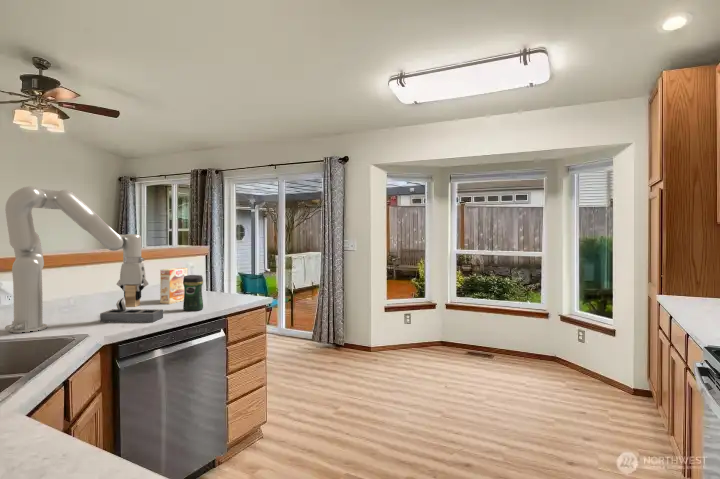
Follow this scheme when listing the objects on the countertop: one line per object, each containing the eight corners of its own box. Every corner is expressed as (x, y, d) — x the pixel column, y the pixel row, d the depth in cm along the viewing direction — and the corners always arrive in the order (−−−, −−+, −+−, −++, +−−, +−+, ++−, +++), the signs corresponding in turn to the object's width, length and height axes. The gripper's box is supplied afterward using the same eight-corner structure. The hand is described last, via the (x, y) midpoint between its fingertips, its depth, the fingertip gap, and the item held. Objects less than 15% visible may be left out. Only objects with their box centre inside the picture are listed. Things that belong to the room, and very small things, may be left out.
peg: (135, 307, 195) (134, 285, 195) (125, 307, 195) (125, 285, 194) (140, 305, 199) (139, 284, 199) (130, 305, 199) (130, 284, 199)
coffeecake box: (169, 304, 238) (169, 270, 237) (159, 303, 240) (159, 269, 240) (188, 300, 252) (188, 267, 252) (178, 299, 254) (178, 267, 254)
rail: (153, 322, 192) (153, 313, 192) (100, 322, 192) (100, 313, 192) (163, 317, 202) (163, 309, 202) (112, 317, 202) (112, 309, 202)
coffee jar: (205, 308, 226) (205, 274, 226) (199, 311, 218) (199, 275, 218) (187, 308, 227) (187, 274, 226) (180, 311, 219) (180, 275, 218)
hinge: (131, 316, 204) (123, 297, 203) (121, 320, 203) (113, 301, 202) (143, 310, 220) (136, 292, 219) (133, 313, 219) (126, 295, 218)
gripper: (154, 260, 200) (154, 298, 201) (118, 259, 200) (118, 298, 200) (146, 261, 193) (147, 300, 193) (109, 261, 192) (109, 300, 193)
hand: (132, 298), depth 197 cm, fingers closed on peg, 4 cm apart
